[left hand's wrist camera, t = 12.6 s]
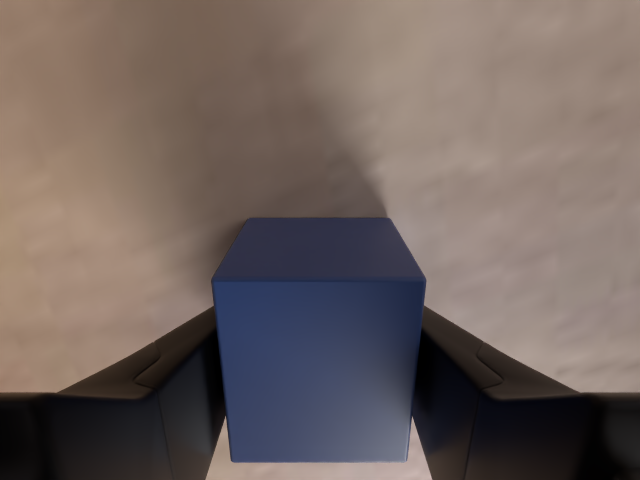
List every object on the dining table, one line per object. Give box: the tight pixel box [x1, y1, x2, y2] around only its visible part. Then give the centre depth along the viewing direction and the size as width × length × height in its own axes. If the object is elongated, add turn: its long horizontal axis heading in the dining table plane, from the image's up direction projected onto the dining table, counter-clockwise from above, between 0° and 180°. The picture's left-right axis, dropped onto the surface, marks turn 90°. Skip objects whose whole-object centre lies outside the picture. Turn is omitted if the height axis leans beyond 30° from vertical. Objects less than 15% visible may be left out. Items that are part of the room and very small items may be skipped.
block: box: [211, 218, 426, 463], centre depth 10 cm, size 5×4×4 cm
